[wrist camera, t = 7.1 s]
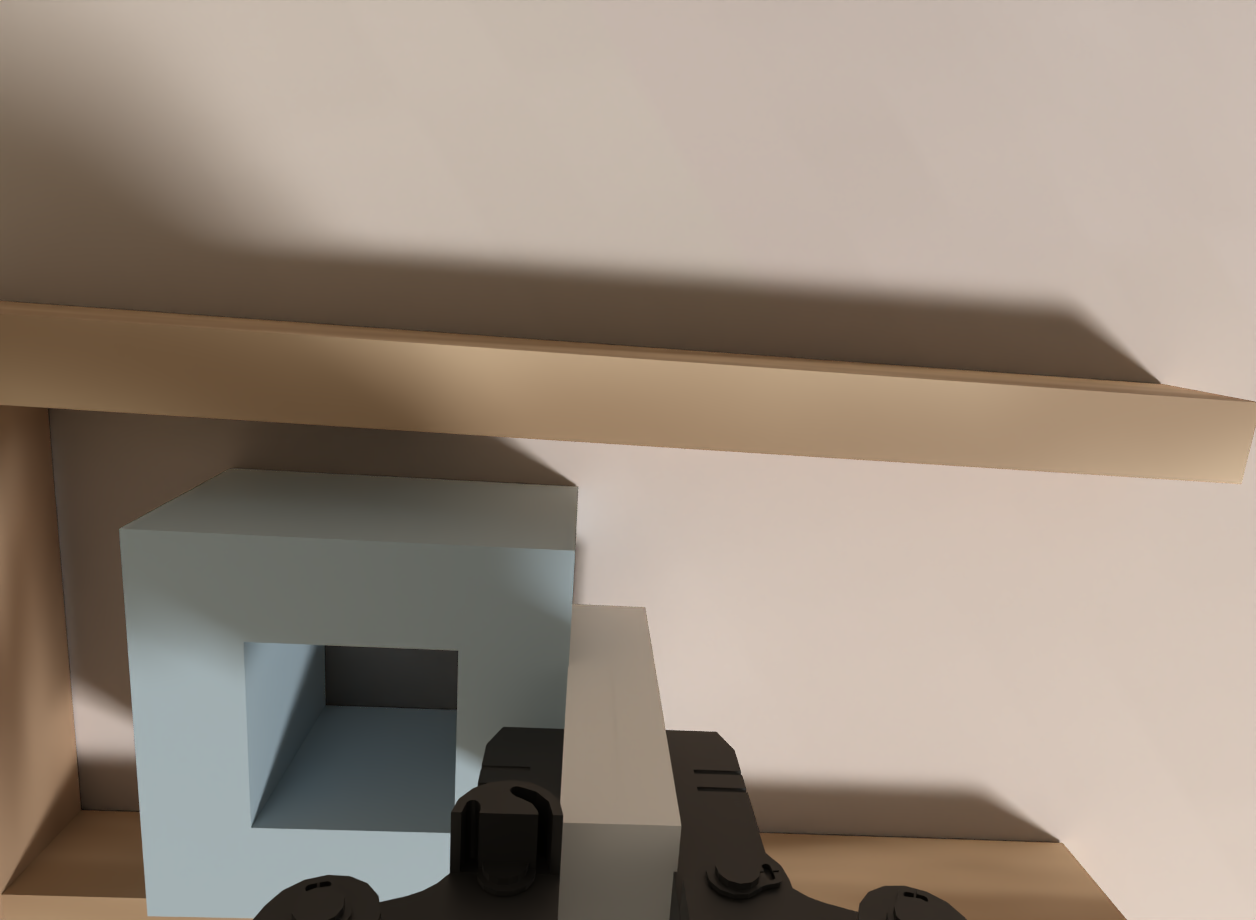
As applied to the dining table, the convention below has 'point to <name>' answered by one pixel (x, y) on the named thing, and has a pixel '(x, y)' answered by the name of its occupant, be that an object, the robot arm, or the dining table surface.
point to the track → (535, 409)
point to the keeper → (295, 672)
